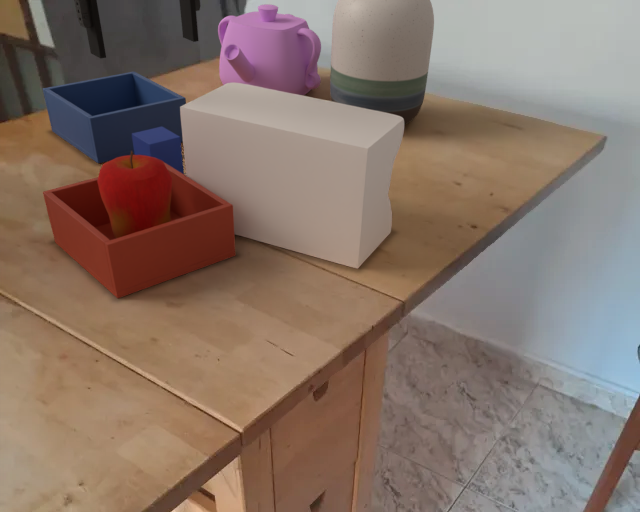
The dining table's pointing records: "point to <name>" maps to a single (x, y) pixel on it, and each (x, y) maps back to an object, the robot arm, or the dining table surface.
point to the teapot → (269, 51)
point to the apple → (135, 193)
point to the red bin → (142, 235)
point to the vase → (381, 54)
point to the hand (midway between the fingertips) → (146, 47)
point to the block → (159, 146)
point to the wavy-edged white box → (295, 168)
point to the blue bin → (111, 113)
